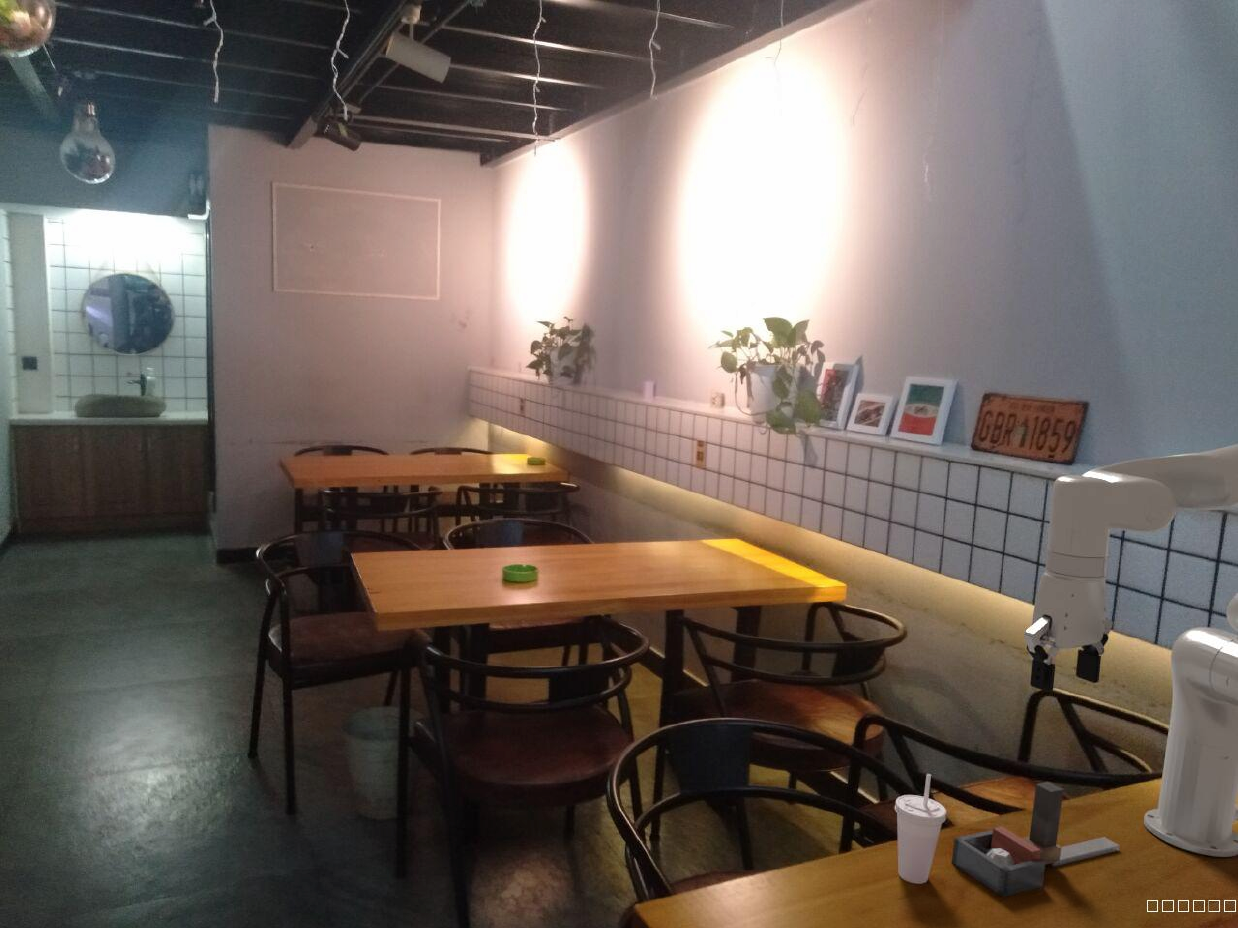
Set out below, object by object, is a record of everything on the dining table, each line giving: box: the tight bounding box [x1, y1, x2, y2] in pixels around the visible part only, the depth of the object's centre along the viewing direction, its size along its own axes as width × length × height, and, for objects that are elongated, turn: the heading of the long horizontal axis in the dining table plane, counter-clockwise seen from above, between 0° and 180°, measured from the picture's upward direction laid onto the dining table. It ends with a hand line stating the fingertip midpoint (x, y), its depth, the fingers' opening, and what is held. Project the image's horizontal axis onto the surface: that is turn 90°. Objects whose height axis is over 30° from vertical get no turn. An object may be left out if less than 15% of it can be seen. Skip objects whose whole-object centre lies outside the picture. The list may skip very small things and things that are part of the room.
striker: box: [991, 781, 1064, 866], centre depth 124 cm, size 8×6×10 cm
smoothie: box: [894, 773, 947, 885], centre depth 120 cm, size 6×6×14 cm
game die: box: [986, 848, 1014, 867], centre depth 123 cm, size 4×4×3 cm
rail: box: [1049, 836, 1120, 867], centre depth 129 cm, size 14×2×1 cm, turn 116°
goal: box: [951, 829, 1046, 898], centre depth 122 cm, size 7×9×4 cm
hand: (1064, 684), depth 129 cm, fingers open, 9 cm apart
